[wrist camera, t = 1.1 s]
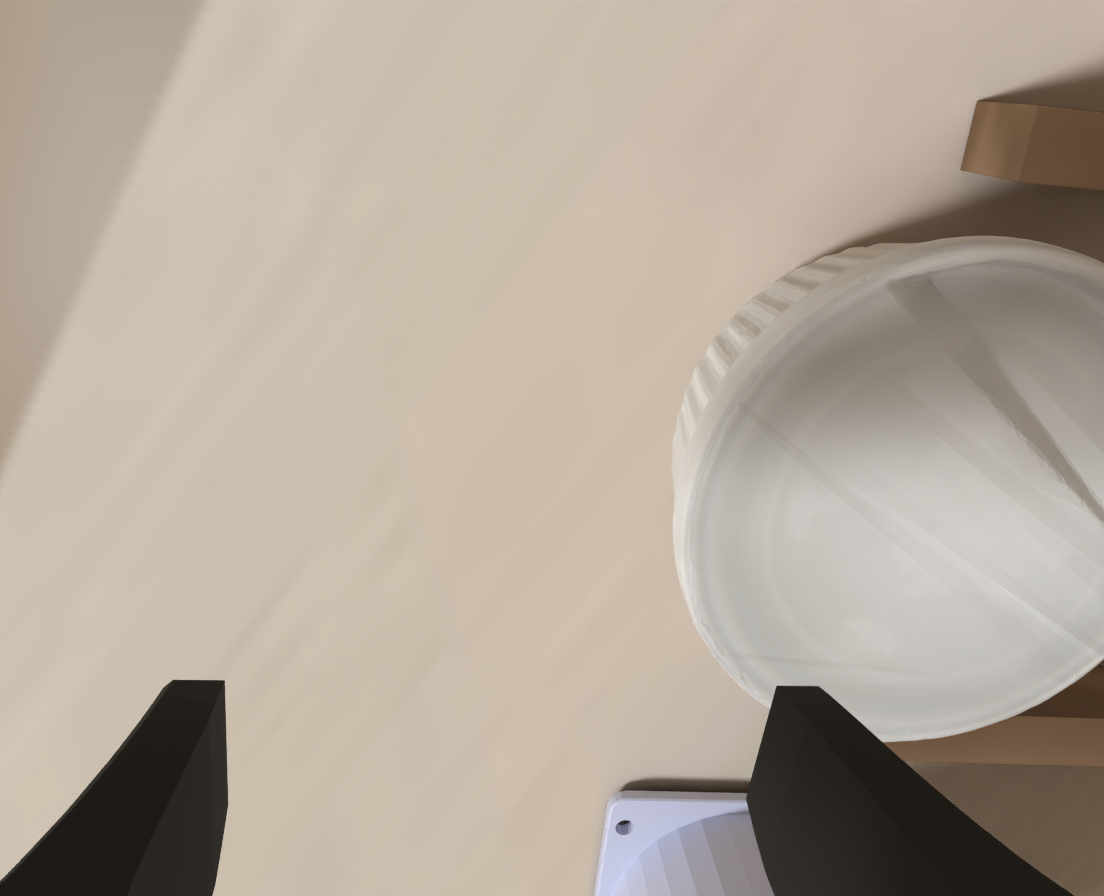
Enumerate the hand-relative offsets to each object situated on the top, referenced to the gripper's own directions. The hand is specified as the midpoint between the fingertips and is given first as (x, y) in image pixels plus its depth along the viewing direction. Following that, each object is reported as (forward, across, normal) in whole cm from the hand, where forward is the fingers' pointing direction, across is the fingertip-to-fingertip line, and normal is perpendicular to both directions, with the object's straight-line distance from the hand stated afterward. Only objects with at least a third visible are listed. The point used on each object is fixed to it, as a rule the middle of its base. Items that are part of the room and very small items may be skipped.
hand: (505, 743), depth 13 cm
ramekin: (+12, -10, 0) cm, 15 cm away
